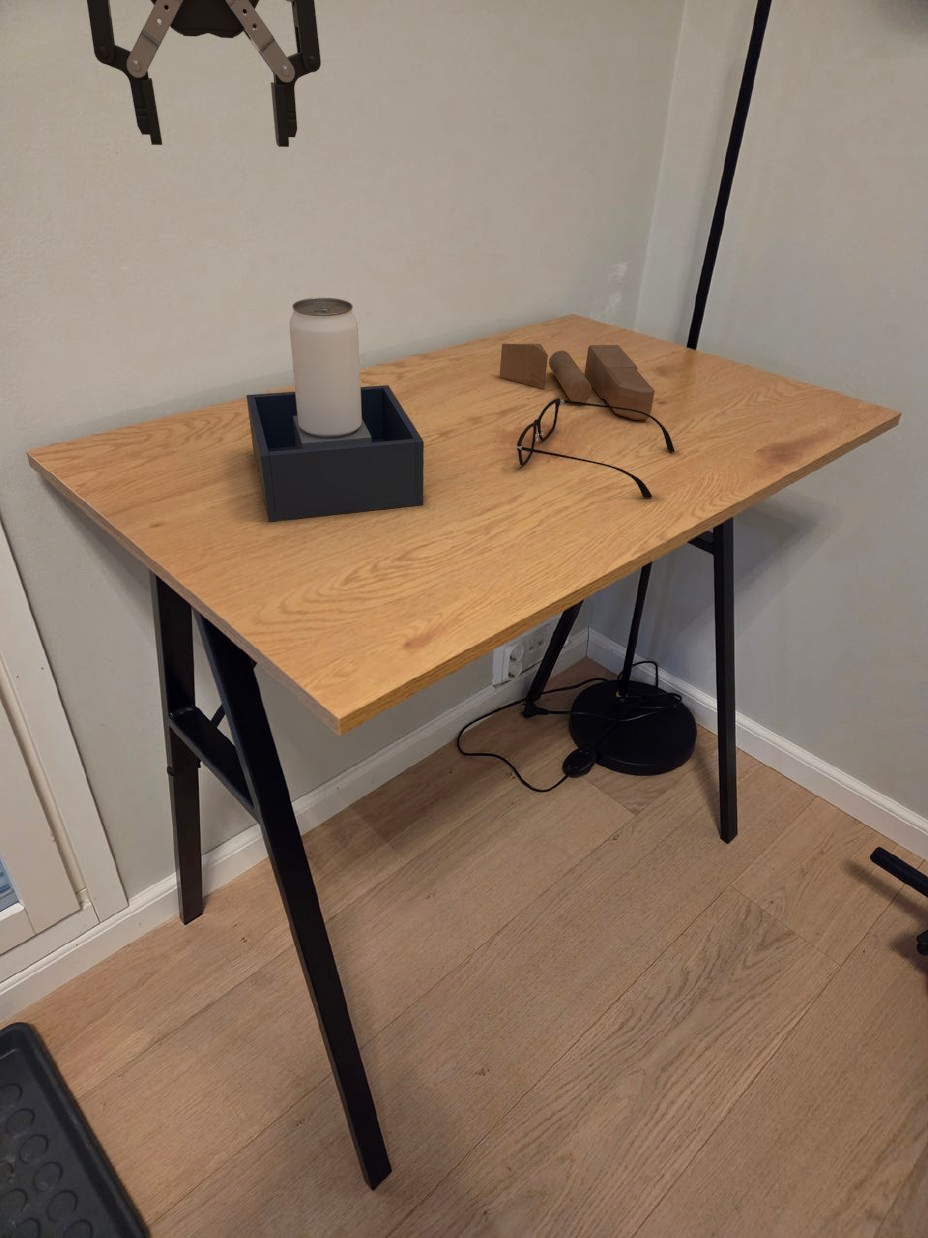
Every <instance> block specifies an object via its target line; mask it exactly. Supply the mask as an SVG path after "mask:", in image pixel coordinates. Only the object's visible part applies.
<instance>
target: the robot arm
mask: <svg viewBox="0 0 928 1238" xmlns="http://www.w3.org/2000/svg"><path fill="white" fill-rule="evenodd" d="M110 2H111V1H110V0H86V5H87V6H86V7H87V11H88V18H89V27H90V32H91V41H92V48H93V54H94V56H95V58H96V60H97V61H98V62H100V63H101V64H103V65H105V66H109V67H111V68H114V69H116V70H118V71H120V72H121V73H123V74H124V75H125V76H126V78H127V79H128V82H129V87H130V91H131V97H132V103H133V108H134V114H135V120H136V125H137V128H138V129H139V131H140V134H141V136H143V135H144V136H148V135H149V137H150V143H151V145H152V146H163V139H162V133H161V127H160V120H159V115H158V107H157V101H156V94H155V89H154V82H153V77H150V76H149V68H150V66H151V64H152V62H153V60H154V59H155V56H156V54H157V52H158V50H159V48H160V46H161V44H162V43H163V41H164V38H165V37H166V35H167V33H168V31H169V29H170V28H171V29H172V30H173V31H174V32H176V33H177V34H180V35H182V36H183V37H200V36H203V35H207V34H209V35H212V36H215V37H218V38H220V39H234V38H236V37H238V36H240V35H241V34H242V33H244V35H245V36H246V38H247V40H248V41H249V43H251V45H252V46H253V48H254V50H256V51H257V53H258V54H259V56H260V57H261V59H263V61H264V63H265V64H266V65H267V67H268V69H270V71H271V72H272V75H273V76H272V77H273V82H270V89H271V90H270V91H271V101H272V112H273V123H274V135H275V144H276V146H277V147H278V148H289V147H290V138H296V136H297V132H298V120H297V118H298V117H297V106H296V92H295V91H296V90H295V86H296V82H297V81H298V80H299V79H300V78H302V77H304V76H306V75H309V74H311V73H316V72H318V71H319V70H320V68H321V65H322V61H321V51H320V41H319V33H318V31H319V30H318V22H317V14H316V3H315V2H316V1H315V0H284V2H286V3H290V4H291V12H292V20H293V28H294V29H293V30H294V37H295V46H296V52H295V53H294V54H290V55H288V56H287V55H286V53H285V52H284V51H283V50H282V48H281V46H280V45H279V43H278V41H277V40H276V39H275V37H274V35H273V34H272V32H271V31H270V30H269V28H268V27H267V25H266V23H265V21H263V19H262V17H261V16H260V14H259V13H258V12H257V10H256V9H257V6H258V4H259V2H260V0H150V2H151V3H152V5H153V7H152V8H151V10H150V13H149V15H148V17H147V19H146V21H145V23H144V25H143V27H142V29H141V31H140V33H139V35H138V37H137V39H136V42H135V44H134V45H133V47H132V49H131V50H129V49H127V48H124V47H121V46H119V45H117V44H116V41H115V33H114V25H113V18H112V17H113V16H112V10H111V3H110ZM158 20H160V21H161V22H160V23H159V22H158Z"/></svg>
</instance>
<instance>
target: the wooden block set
mask: <svg viewBox="0 0 928 1238" xmlns="http://www.w3.org/2000/svg"><path fill="white" fill-rule="evenodd" d="M500 351H501V352H500V353H501V354H500V366H499V378H500V379H504V380H508V381H512V382H515V383H519V384H523V385H526V386H530V387H533V388H538V389H540V390H545V387H546V377H547V369H548V368H547V367H549V369H550V371H551V372H552V374H553V375H554V377H555V378H556V380H557V381H558V383H559V385H560V387H561V388H562V389H563V391H564V392H565V394H566V396H567V398H568V400H569V401H575V402H583V403H586V402H587V401H588V400H589V398H590V397H591V396H592V394H593V390H594V392H595V393H596V394H597V396H598V397H599V399H602V400H605V401H606V403H607V404H608V406H613V407H621V408H627V409H633V410H637V411H641V412H644V413H646V414H649V415H650V416H651V413H652V407H653V404H654V403H653V402H654V398H655V392H656V391H655V389H654V388H653V387H652V386H651V385H650V383H649V382H648V381H647V380H646V379H645V378H644V376H642V374H641V373H640V372H639V371H638V366H637V364H636V363H635V362H634V361H633V360H632V359H631V357H629V355H628V354H627V353H626V351H624V350H623V348H622V347H621V346H620V345H618V344H590V345H588V347H587V353H586V360H585V368H584V373H583V371H582V370H581V368H580V367H579V366H578V365H577V363H576V361H575V360H574V359H573V357H572V356H571V355H570V353H569V352H568V351H565V350H557V351H555V352H554V353H553V354H551V356H550V357H549V355H548V352H547V351H546V350H545V348H544V346H543V345H542V343H501V350H500ZM548 358H549V360H548ZM611 410H612V411H613V412H614V413H615V415H618V416H621V417H624V418H628V419H630V420H634V421H639V420H641V421H642V420H645V421H646V420H648V419H649V418H650V417H648V416H646V415H644V414H641V413H638V412H634V411H629V410H622V409H614V408H611Z"/></svg>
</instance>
